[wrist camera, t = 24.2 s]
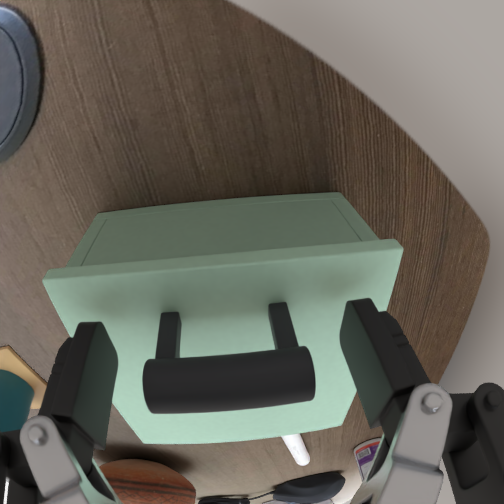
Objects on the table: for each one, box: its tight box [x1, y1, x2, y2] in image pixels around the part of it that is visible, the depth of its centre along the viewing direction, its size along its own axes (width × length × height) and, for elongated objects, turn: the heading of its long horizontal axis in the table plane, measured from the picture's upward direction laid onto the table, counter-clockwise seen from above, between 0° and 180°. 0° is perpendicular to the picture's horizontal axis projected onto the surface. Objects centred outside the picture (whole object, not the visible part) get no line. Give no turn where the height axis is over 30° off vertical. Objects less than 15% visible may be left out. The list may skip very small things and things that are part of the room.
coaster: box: [0, 346, 48, 409], centre depth 25 cm, size 10×10×1 cm
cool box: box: [65, 192, 379, 268], centre depth 18 cm, size 14×14×6 cm
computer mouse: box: [198, 472, 345, 504], centre depth 50 cm, size 9×32×6 cm, turn 114°
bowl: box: [99, 459, 196, 504], centre depth 33 cm, size 16×16×10 cm
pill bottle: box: [354, 438, 381, 482], centre depth 38 cm, size 5×5×10 cm
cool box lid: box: [42, 239, 403, 444], centre depth 13 cm, size 15×14×5 cm
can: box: [0, 369, 34, 482], centre depth 20 cm, size 5×5×11 cm
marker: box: [281, 433, 310, 466], centre depth 34 cm, size 18×2×2 cm, turn 15°
